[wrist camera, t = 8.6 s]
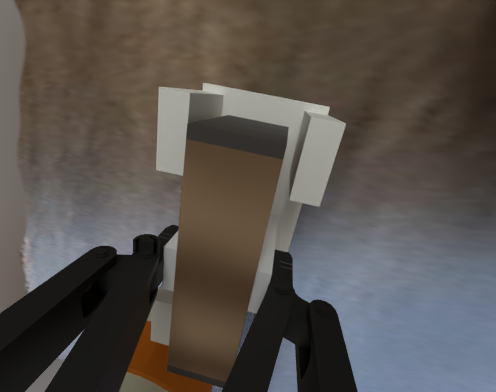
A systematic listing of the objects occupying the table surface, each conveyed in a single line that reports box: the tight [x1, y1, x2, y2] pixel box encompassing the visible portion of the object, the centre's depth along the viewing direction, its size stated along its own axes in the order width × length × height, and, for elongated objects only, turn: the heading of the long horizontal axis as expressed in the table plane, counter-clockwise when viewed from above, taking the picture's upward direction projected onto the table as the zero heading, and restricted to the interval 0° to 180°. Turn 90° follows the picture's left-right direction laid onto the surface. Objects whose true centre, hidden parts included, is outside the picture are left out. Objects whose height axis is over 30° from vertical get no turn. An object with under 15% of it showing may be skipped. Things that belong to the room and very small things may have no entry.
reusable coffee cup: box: [119, 309, 212, 392], centre depth 21 cm, size 12×13×15 cm
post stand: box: [151, 83, 346, 346], centre depth 18 cm, size 18×8×8 cm, turn 170°
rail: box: [167, 115, 289, 388], centre depth 16 cm, size 15×4×7 cm, turn 170°
